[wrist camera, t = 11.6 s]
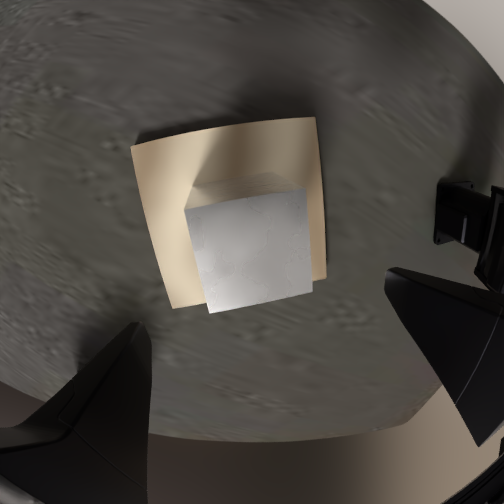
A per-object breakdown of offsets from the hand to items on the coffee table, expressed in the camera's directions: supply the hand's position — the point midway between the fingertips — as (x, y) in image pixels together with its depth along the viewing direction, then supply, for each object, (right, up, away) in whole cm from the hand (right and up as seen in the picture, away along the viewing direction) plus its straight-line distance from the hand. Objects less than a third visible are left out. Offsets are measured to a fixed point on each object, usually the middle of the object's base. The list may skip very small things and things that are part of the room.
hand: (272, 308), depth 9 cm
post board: (-2, +5, +11) cm, 13 cm away
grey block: (-2, +4, +10) cm, 12 cm away
